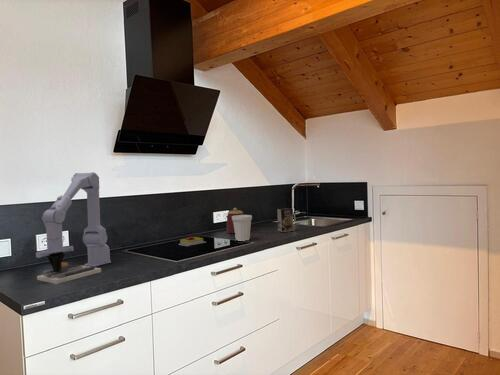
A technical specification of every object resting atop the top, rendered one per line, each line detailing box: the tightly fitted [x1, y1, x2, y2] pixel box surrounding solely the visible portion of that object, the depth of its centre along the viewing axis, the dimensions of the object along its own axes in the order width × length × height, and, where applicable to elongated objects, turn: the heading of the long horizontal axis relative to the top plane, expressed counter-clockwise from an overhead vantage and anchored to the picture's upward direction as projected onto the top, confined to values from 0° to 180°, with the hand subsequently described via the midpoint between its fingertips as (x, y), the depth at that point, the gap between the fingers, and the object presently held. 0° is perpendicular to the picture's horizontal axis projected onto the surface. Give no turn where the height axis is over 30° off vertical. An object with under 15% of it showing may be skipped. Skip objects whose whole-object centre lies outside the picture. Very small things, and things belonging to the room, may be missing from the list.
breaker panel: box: [36, 263, 102, 285], centre depth 155 cm, size 20×14×3 cm
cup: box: [232, 214, 253, 241], centre depth 222 cm, size 12×12×15 cm
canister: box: [225, 207, 244, 234], centre depth 257 cm, size 13×13×18 cm
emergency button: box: [177, 236, 206, 247], centre depth 221 cm, size 9×4×15 cm
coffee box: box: [276, 208, 294, 232], centre depth 251 cm, size 9×6×16 cm
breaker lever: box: [58, 261, 69, 274], centre depth 152 cm, size 3×3×4 cm
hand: (56, 271), depth 150 cm, fingers closed
